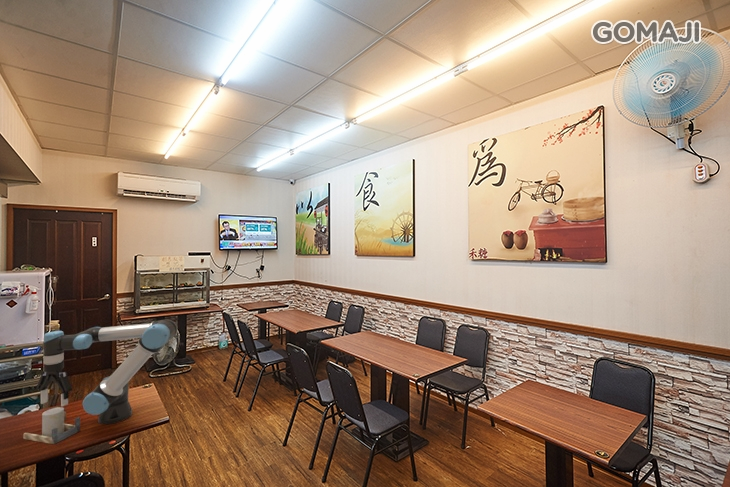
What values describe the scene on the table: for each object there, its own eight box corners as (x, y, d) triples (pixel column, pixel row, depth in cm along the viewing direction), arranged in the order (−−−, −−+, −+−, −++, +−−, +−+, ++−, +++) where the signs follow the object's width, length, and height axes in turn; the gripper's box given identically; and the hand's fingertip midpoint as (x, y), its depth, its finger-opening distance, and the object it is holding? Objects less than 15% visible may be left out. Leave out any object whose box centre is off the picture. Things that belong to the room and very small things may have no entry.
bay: (80, 430, 172) (80, 417, 172) (53, 444, 161) (54, 429, 161) (50, 426, 177) (51, 412, 177) (23, 438, 165) (23, 424, 165)
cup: (50, 440, 164) (50, 416, 164) (37, 438, 166) (37, 414, 166) (68, 431, 172) (68, 408, 172) (55, 429, 174) (55, 406, 174)
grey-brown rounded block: (66, 419, 184) (66, 406, 184) (58, 423, 180) (58, 409, 180) (56, 417, 185) (56, 404, 185) (47, 421, 181) (47, 408, 181)
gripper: (80, 361, 170) (81, 402, 170) (44, 358, 175) (44, 398, 175) (64, 366, 163) (65, 409, 162) (26, 363, 168) (27, 405, 168)
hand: (54, 403), depth 169 cm, fingers open, 13 cm apart
